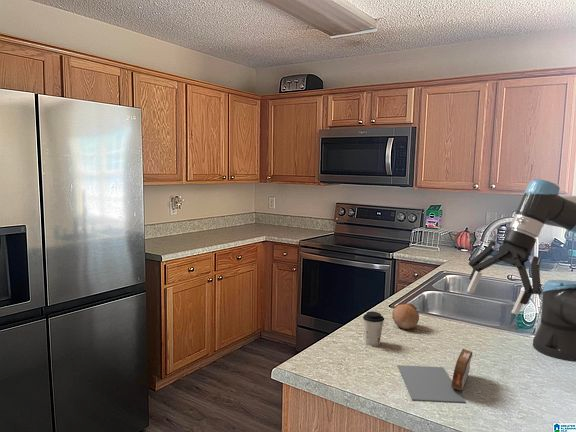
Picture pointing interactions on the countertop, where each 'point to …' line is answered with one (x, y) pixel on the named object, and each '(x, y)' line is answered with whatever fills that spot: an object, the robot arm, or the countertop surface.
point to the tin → (461, 369)
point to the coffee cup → (373, 327)
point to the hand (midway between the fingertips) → (491, 302)
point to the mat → (429, 384)
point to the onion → (405, 316)
